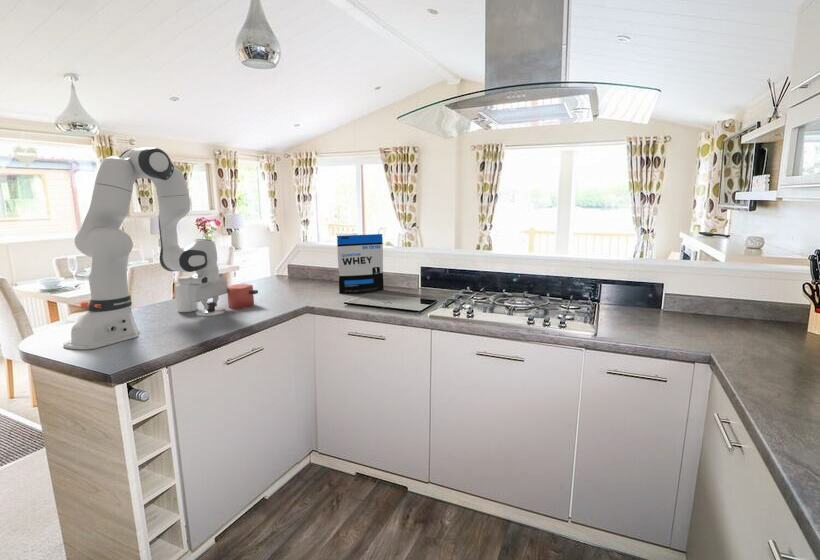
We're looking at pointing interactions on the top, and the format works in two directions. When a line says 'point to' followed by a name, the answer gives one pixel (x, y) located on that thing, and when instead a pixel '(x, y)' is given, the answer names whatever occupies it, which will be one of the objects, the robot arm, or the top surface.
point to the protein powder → (360, 263)
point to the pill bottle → (184, 296)
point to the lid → (211, 310)
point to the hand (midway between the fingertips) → (210, 307)
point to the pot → (241, 296)
